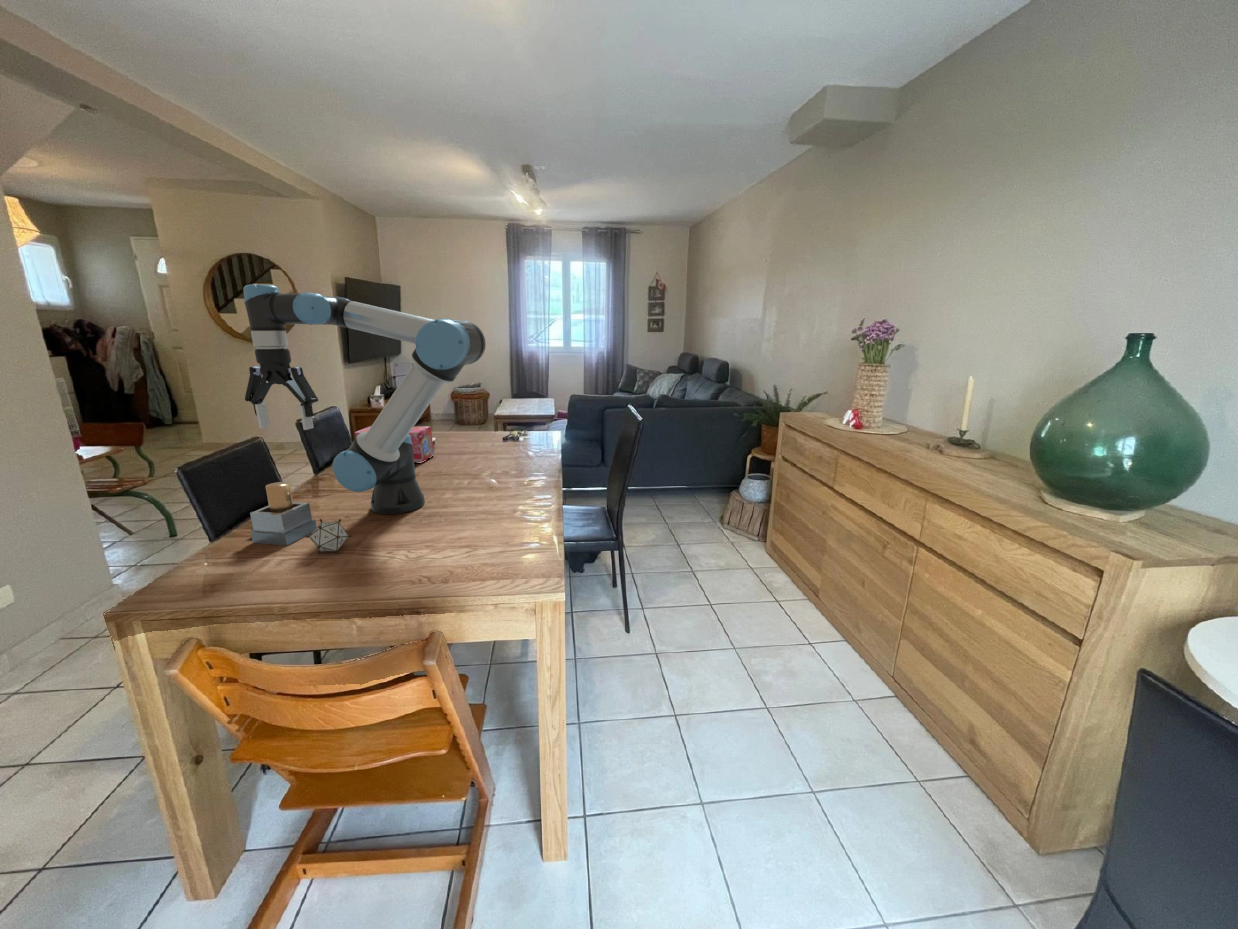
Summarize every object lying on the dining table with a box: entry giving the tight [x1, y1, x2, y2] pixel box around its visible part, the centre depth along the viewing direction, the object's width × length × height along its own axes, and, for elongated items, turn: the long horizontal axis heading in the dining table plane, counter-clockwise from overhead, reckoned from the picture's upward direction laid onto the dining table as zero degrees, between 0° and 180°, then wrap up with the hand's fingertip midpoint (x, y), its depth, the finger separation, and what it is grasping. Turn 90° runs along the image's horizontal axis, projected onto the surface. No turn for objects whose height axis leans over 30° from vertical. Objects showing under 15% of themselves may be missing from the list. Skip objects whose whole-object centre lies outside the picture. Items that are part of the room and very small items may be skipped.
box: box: [354, 425, 435, 462], centre depth 202 cm, size 27×13×14 cm, turn 87°
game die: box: [304, 518, 353, 555], centre depth 118 cm, size 9×8×10 cm
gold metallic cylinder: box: [265, 481, 294, 513], centre depth 126 cm, size 5×5×11 cm
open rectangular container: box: [249, 501, 318, 546], centre depth 127 cm, size 14×10×8 cm
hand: (286, 428), depth 132 cm, fingers open, 13 cm apart
